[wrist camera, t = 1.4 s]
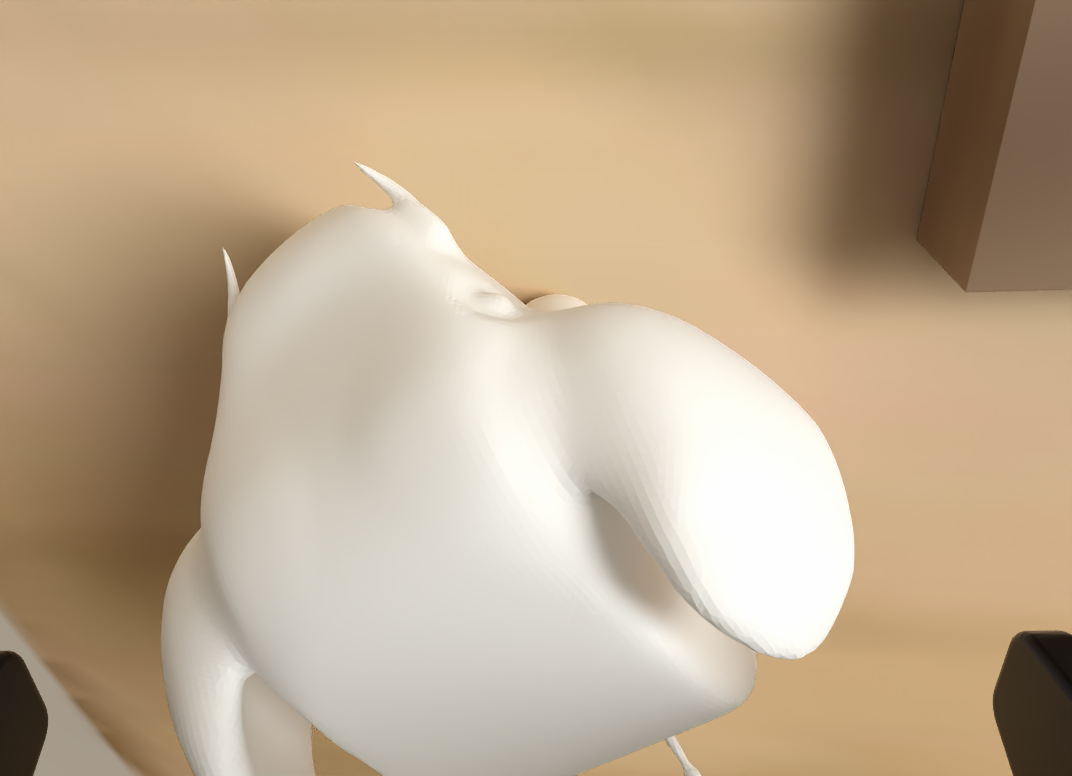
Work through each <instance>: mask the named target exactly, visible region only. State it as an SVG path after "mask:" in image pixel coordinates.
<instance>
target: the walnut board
mask: <svg viewBox="0 0 1072 776" xmlns="http://www.w3.org/2000/svg"><path fill="white" fill-rule="evenodd" d="M917 240H918V241H919V243H920V244H921V245H922V246H923V247H924V248H925V249H926V250H927V251H928V252H929V253H930V254H931V255H932V256H933V258H934V259H935V260H936V261H937V262H938V263H939V264H940V265H941V266H942V267H943V268H944V269H945V270H946V272H947V273H948V274H949V275H950V276H951V277H952V278H953V279H954V280H955V281H956V282H957V283H958V284H959V285H960V287H961V288H962V289H963V290H964V291H965V292H996V291H1030V290H1065V289H1072V0H965V1H964V6H963V11H962V16H961V21H960V26H959V31H958V36H957V41H956V46H955V51H954V56H953V61H952V66H951V71H950V76H949V81H948V86H947V91H946V96H945V101H944V106H943V111H942V116H941V121H940V126H939V131H938V136H937V141H936V146H935V151H934V156H933V161H932V166H931V171H930V176H929V181H928V186H927V191H926V196H925V201H924V206H923V211H922V216H921V221H920V226H919V231H918V236H917Z"/></svg>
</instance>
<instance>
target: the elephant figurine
mask: <svg viewBox="0 0 1072 776" xmlns="http://www.w3.org/2000/svg"><path fill="white" fill-rule="evenodd" d="M354 163H355V164H356V165H357V166H358V167H359V168H360V170H361V171H362V172H363V173H365V174H366V175H367V176H368V177H369V178H371V179H372V180H373V181H374V182H375V183H377V184H378V185H379V186H380V187H381V188H382V189H383V190H384V191H385V193H386V194H387V195H388V196H389V197H390V199H391V200H392V203H393V206H392V207H391V208H389V209H385V210H379V209H373V208H367V207H360V206H356V205H341V206H338V207H335V208H333V209H331V210H329V211H327V212H325V213H323V214H321V215H320V216H318V217H317V218H315V219H313V220H312V221H310V222H309V223H308V224H306V225H305V226H303V227H302V228H301V229H299V230H298V231H297V232H296V233H294V234H293V235H292V236H291V237H289V238H288V239H287V240H286V241H285V242H283V243H282V244H281V245H280V246H279V247H278V248H277V249H276V250H275V251H274V252H273V253H272V254H271V255H270V256H269V257H268V258H267V259H266V260H265V261H264V262H263V263H262V264H261V265H260V266H259V268H258V269H257V270H256V271H255V272H254V274H253V275H252V276H251V277H250V278H249V280H248V281H247V282H246V284H245V285H244V287H243V289H242V290H241V292H240V291H239V287H238V283H237V280H236V276H235V272H234V269H233V266H232V263H231V261H230V258H229V256H228V255H227V253H226V251H225V250H224V248H223V254H224V260H225V266H226V273H227V281H228V319H227V323H226V327H225V333H224V338H223V350H222V374H221V386H220V394H219V401H218V409H217V416H216V422H215V428H214V433H213V438H212V443H211V449H210V453H209V457H208V461H207V465H206V471H205V475H204V481H203V489H202V496H201V528H200V529H199V530H198V532H197V533H196V534H195V535H194V536H193V538H192V539H191V540H190V542H189V543H188V544H187V546H186V547H185V549H184V551H183V552H182V554H181V555H180V557H179V559H178V561H177V563H176V565H175V567H174V569H173V571H172V574H171V576H170V579H169V582H168V586H167V589H166V593H165V598H164V605H163V614H162V628H161V658H162V669H163V677H164V685H165V691H166V697H167V701H168V706H169V710H170V714H171V718H172V721H173V725H174V728H175V731H176V734H177V737H178V740H179V742H180V745H181V747H182V749H183V751H184V754H185V756H186V758H187V760H188V762H189V765H190V767H191V769H192V771H193V773H194V776H315V771H314V765H313V757H312V732H311V725H313V726H314V727H316V728H317V729H318V730H319V731H320V732H322V733H323V734H324V735H325V736H326V737H328V738H329V739H330V740H331V741H333V742H334V743H335V744H336V745H338V746H339V747H340V748H342V749H343V750H345V751H347V752H348V753H350V754H352V755H353V756H355V757H356V758H358V759H359V760H361V761H362V762H364V763H365V764H367V765H368V766H369V767H371V768H372V769H374V770H375V771H377V772H378V773H379V774H381V775H382V776H575V775H577V774H580V773H582V772H585V771H587V770H590V769H592V768H595V767H597V766H600V765H602V764H605V763H607V762H610V761H612V760H615V759H617V758H620V757H622V756H625V755H627V754H629V753H632V752H634V751H637V750H639V749H642V748H644V747H647V746H649V745H652V744H654V743H657V742H659V741H662V740H665V741H666V743H667V745H668V746H669V747H670V748H671V749H672V751H673V752H674V753H675V755H676V756H677V758H678V759H679V761H680V763H681V764H682V766H683V771H684V776H701V775H700V773H699V771H698V769H696V768H695V767H694V766H692V765H691V764H690V763H689V762H688V760H687V758H686V756H685V754H684V752H683V750H682V748H681V747H680V745H679V743H678V741H677V740H676V738H675V736H674V735H677V734H679V733H682V732H684V731H687V730H689V729H691V728H694V727H696V726H699V725H701V724H704V723H706V722H709V721H711V720H713V719H716V718H718V717H720V716H722V715H725V714H727V713H729V712H730V711H732V710H734V709H736V708H737V707H738V706H740V705H741V704H742V703H743V702H744V701H745V700H746V699H747V698H748V697H749V695H750V694H751V693H752V690H753V688H754V683H755V679H756V652H758V653H761V654H764V655H768V656H771V657H775V658H780V659H788V660H794V659H798V658H802V657H803V656H805V655H807V654H808V653H810V652H812V651H814V650H815V649H816V648H817V647H818V646H819V645H820V644H821V642H822V641H823V640H824V639H825V637H826V636H827V635H828V633H829V631H830V629H831V627H832V625H833V624H834V622H835V619H836V617H837V615H838V613H839V611H840V609H841V606H842V604H843V601H844V599H845V596H846V594H847V591H848V588H849V585H850V582H851V578H852V574H853V567H854V534H853V526H852V520H851V515H850V510H849V505H848V500H847V496H846V492H845V488H844V484H843V481H842V478H841V475H840V472H839V469H838V466H837V464H836V461H835V458H834V456H833V454H832V451H831V449H830V447H829V445H828V443H827V441H826V439H825V437H824V435H823V434H822V432H821V430H820V429H819V427H818V426H817V424H816V423H815V422H814V421H813V419H812V418H811V417H810V416H809V415H808V414H807V413H806V412H805V411H804V409H803V408H802V407H801V406H800V405H799V404H798V403H797V402H796V401H794V400H793V399H792V398H791V397H790V396H789V395H788V394H787V393H786V392H785V391H784V390H783V389H781V388H780V387H779V386H778V385H777V384H776V383H775V382H773V381H772V380H771V379H770V378H769V377H767V376H766V375H765V374H764V373H763V372H761V371H760V370H759V369H758V368H756V367H755V366H754V365H752V364H751V363H750V362H748V361H747V360H745V359H744V358H743V357H741V356H740V355H738V354H737V353H736V352H734V351H733V350H731V349H730V348H728V347H727V346H725V345H724V344H722V343H721V342H719V341H718V340H716V339H715V338H713V337H711V336H710V335H708V334H706V333H705V332H703V331H701V330H700V329H698V328H696V327H694V326H692V325H691V324H689V323H687V322H685V321H683V320H681V319H679V318H676V317H674V316H672V315H669V314H667V313H664V312H661V311H658V310H655V309H651V308H648V307H644V306H640V305H636V304H629V303H618V302H609V303H596V304H589V305H587V304H586V303H584V302H583V301H581V300H580V299H577V298H575V297H573V296H569V295H564V294H550V295H545V296H542V297H538V298H536V299H534V300H532V301H530V302H529V303H527V304H526V305H525V304H524V303H523V302H521V301H520V300H519V299H518V298H517V297H515V296H514V295H513V294H512V293H511V292H509V291H508V290H507V289H506V288H505V287H503V286H502V285H501V284H499V283H498V282H497V281H496V280H494V279H493V278H492V277H491V276H489V275H488V274H487V273H485V272H484V271H482V270H481V269H480V268H478V267H477V266H476V265H475V264H473V263H472V262H471V261H470V260H469V259H468V258H467V257H466V256H465V255H464V254H463V253H462V251H461V250H460V249H459V247H458V245H457V244H456V242H455V240H454V238H453V237H452V235H451V233H450V231H449V230H448V228H447V226H446V225H445V224H444V223H443V221H442V220H441V219H440V218H438V217H437V216H436V215H435V214H433V213H432V212H431V211H430V210H429V209H427V208H426V207H425V206H423V205H422V204H421V203H419V202H418V201H417V199H416V198H415V197H414V196H412V195H411V194H410V193H409V192H408V191H406V190H405V189H404V188H402V187H401V186H399V185H398V184H397V183H395V182H394V181H393V180H391V179H389V178H388V177H386V176H384V175H382V174H380V173H378V172H377V171H375V170H373V169H371V168H369V167H367V166H365V165H362V164H359V163H356V162H354Z"/></svg>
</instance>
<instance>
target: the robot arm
mask: <svg viewBox="0 0 1072 776" xmlns="http://www.w3.org/2000/svg"><path fill="white" fill-rule="evenodd" d="M993 710H994V716H995V720H996V723H997V727H998V730H999V733H1000V736H1001V739H1002V742H1003V745H1004V748H1005V751H1006V755H1007V758H1008V761H1009V764H1010V767H1011V770H1012V773H1013V776H1072V635H1071V634H1069V633H1067V632H1063V631H1023V632H1019V633H1018V634H1017V635H1015V636H1014V637H1013V638H1012V641H1011V643H1010V645H1009V648H1008V651H1007V654H1006V657H1005V660H1004V663H1003V666H1002V669H1001V672H1000V675H999V677H998V680H997V683H996V686H995V689H994V694H993ZM47 728H48V714H47V709H46V706H45V704H44V702H43V700H42V697H41V695H40V693H39V691H38V689H37V687H36V685H35V683H34V681H33V679H32V677H31V675H30V673H29V670H28V669H27V666H26V664H25V662H24V660H23V659H22V658H21V657H20V656H19V655H18V654H16V653H15V652H12V651H0V776H33V774H34V771H35V768H36V765H37V762H38V759H39V756H40V753H41V750H42V747H43V744H44V741H45V738H46V734H47Z"/></svg>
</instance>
